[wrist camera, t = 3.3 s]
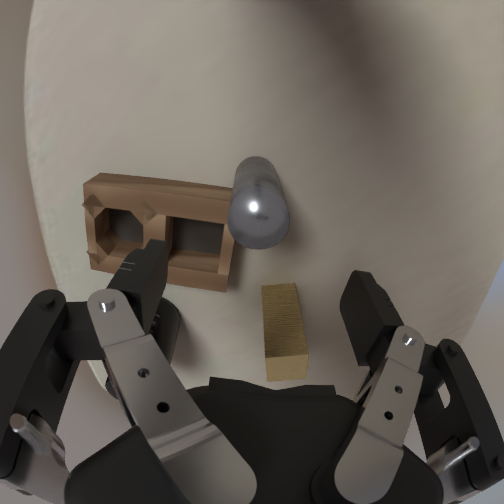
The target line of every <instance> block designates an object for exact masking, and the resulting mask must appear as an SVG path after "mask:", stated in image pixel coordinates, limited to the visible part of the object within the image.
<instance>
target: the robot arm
mask: <svg viewBox="0 0 504 504" xmlns="http://www.w3.org/2000/svg"><path fill="white" fill-rule="evenodd" d="M168 249H169V244H168V241H164V240H157V239H150V240H149V242H148V243H147V245H146V247H145V248H144V249H139V248H137V249H135V250H134V251H132V252H130V253H129V254H128V255H127V256H126V258H125V260H124V261H123V263H122V264H121V266H120V268H119V269H118V270H117V272H116V273H115V275H114V277H113V278H112V280H111V281H110V283H109V285H108V286H107V288H106V289H101V290H98V291H96V292H94V293H93V294H92V295H91V296H90V297H89V298H88V301H85V302H66V299H65V296H64V294H63V293H62V292H60V291H58V290H53V289H50V290H44V291H41V292H40V293H38V294H36V295H35V296H34V297H33V299H32V300H31V302H30V303H29V304H28V306H27V307H26V309H25V310H24V312H23V313H22V315H21V316H20V318H19V320H18V321H17V323H16V324H15V326H14V327H13V329H12V331H11V333H10V334H9V336H8V337H7V339H6V341H5V342H4V344H3V346H2V348H1V349H0V483H2V484H4V485H6V486H7V487H9V488H11V489H15V490H17V491H19V492H20V493H22V494H25V495H35V496H37V497H39V498H41V499H43V500H46V501H48V502H50V503H53V504H458V503H461V502H463V501H465V500H466V499H469V498H471V497H473V496H474V495H476V494H478V493H480V492H482V491H484V490H485V489H487V488H489V487H491V486H492V485H494V484H496V483H497V482H499V481H500V480H502V479H504V442H503V439H502V436H501V433H500V431H499V428H498V425H497V423H496V420H495V418H494V415H493V413H492V410H491V408H490V406H489V403H488V401H487V399H486V397H485V394H484V392H483V390H482V388H481V386H480V383H479V381H478V379H477V377H476V375H475V373H474V371H473V369H472V367H471V365H470V363H469V361H468V359H467V357H466V355H465V354H464V352H463V350H462V348H461V347H460V346H459V345H458V344H457V343H456V342H454V341H453V340H450V339H443V340H441V342H440V343H439V344H438V346H437V347H435V346H432V345H428V344H425V342H424V339H423V337H422V336H421V334H420V333H419V332H418V331H416V330H415V329H413V328H411V327H409V326H405V325H404V324H403V322H402V320H401V318H400V316H399V314H398V312H397V311H396V309H395V307H394V305H393V303H392V302H391V301H390V298H389V296H388V294H387V293H386V291H385V290H384V289H383V288H382V287H380V286H379V285H378V284H377V283H376V281H375V279H374V278H373V276H372V274H371V273H370V272H364V271H357V270H354V271H353V272H352V274H351V276H350V278H349V280H348V283H347V285H346V288H345V290H344V292H343V294H342V297H341V300H340V312H341V315H342V318H343V320H344V323H345V326H346V329H347V332H348V335H349V338H350V341H351V344H352V347H353V350H354V353H355V356H356V359H357V362H358V366H369V367H370V370H369V371H368V372H367V374H366V376H365V378H364V380H363V382H362V384H361V385H360V387H359V389H358V391H357V393H356V395H355V397H354V399H353V400H350V399H348V398H346V397H343V396H340V395H336V391H335V387H334V385H303V386H298V387H292V388H287V389H281V390H272V389H269V388H265V387H262V386H259V385H255V384H252V383H249V382H245V381H242V380H233V379H225V378H217V377H210V380H209V386H200V387H195V388H191V389H188V390H186V389H185V388H184V386H183V385H182V383H181V381H180V380H179V378H178V377H177V375H176V374H175V372H174V371H173V369H172V367H171V366H170V364H169V363H168V361H167V359H166V358H165V356H164V355H163V353H162V351H161V350H160V348H159V346H158V344H157V343H156V341H155V339H154V338H153V336H152V335H151V334H150V333H149V330H150V327H151V324H152V321H153V319H154V316H155V313H156V310H157V308H158V305H159V302H160V300H161V297H162V294H163V292H164V289H165V286H166V282H167V276H168ZM81 360H102V362H103V365H104V367H105V370H106V372H107V375H108V377H109V379H110V382H111V384H112V387H113V389H114V391H115V393H116V396H117V398H118V400H119V402H120V405H121V407H122V410H123V412H124V414H125V416H126V418H127V420H128V422H129V424H130V426H131V428H130V429H129V430H128V431H126V432H125V433H124V434H122V435H121V436H119V437H118V438H116V439H115V440H113V441H112V442H111V443H109V444H108V445H106V446H105V447H103V448H102V449H100V450H99V451H98V452H96V453H95V454H93V455H92V456H90V457H89V458H87V459H86V460H84V461H83V462H81V463H80V464H78V465H77V466H76V467H75V468H74V469H73V470H72V471H71V473H69V471H68V469H67V467H66V464H65V447H64V444H63V442H62V440H61V439H60V438H59V437H58V435H57V434H56V430H57V427H58V424H59V420H60V417H61V414H62V411H63V407H64V405H65V402H66V399H67V396H68V393H69V390H70V387H71V385H72V382H73V379H74V376H75V373H76V371H77V368H78V366H79V363H80V361H81ZM444 383H445V384H446V386H447V389H448V391H449V394H450V403H449V405H448V406H447V407H446V408H444V405H443V403H442V400H441V398H440V395H439V392H438V389H439V388H440V387H441V386H442V385H443V384H444ZM413 412H414V414H415V418H416V421H417V425H418V428H419V431H420V435H421V439H422V442H423V446H424V450H425V454H426V459H427V462H426V463H425V462H424V461H422V460H421V459H420V458H419V457H418V456H417V455H415V454H414V453H413V452H412V451H411V450H410V449H408V448H407V447H406V446H405V445H404V444H403V442H404V439H405V436H406V434H407V431H408V428H409V425H410V422H411V419H412V415H413Z"/></svg>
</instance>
